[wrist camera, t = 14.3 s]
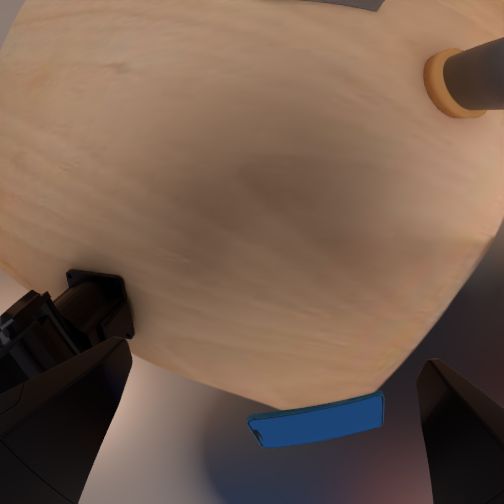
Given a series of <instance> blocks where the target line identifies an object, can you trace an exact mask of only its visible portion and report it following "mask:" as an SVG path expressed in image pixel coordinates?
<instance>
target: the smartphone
mask: <svg viewBox="0 0 504 504" xmlns="http://www.w3.org/2000/svg"><path fill="white" fill-rule="evenodd" d="M383 422H384V395H383V392H382V391H379V390H376V391H375V392H374V393H371V394H367V395H363V396H359V397H355V398H351V399H347V400H342V401H337V402H333V403H328V404H322V405H317V406H311V407H305V408H299V409H292V410H285V411H277V412H270V413H263V414H254V415H250V416H249V417H248V418H247V425H248V427H249V428H250V430H251V432H252V433H253V435H254V436H255V438H256V439H257V441H258V443H259V444H260V446H262V447H264V448H278V447H287V446H294V445H301V444H308V443H313V442H319V441H324V440H330V439H334V438H339V437H344V436H348V435H353V434H357V433H360V432H364V431H368V430H372V429H375V428H378V427H380V426H381V425H382V424H383Z"/></svg>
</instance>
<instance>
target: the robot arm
mask: <svg viewBox="0 0 504 504" xmlns="http://www.w3.org/2000/svg"><path fill="white" fill-rule="evenodd" d="M66 277H67V281H68V285H69V288H68V289H67V290H66V291H65V292H64V293H62V294H61V295H60V296H59V297H58V298H57V299H55V300H54V301H52V300H51V298H50V297H51V296H50V295H49V293H48V291H46V292H45V293H43V294H41V295H40V293H37V292H35V291H34V290H31V291H29V292H28V293H27V294H26V295H24V296H23V297H22V298H21V299H19V300H18V301H17V302H16V303H14V304H13V305H12V306H11V307H10V308H9V309H8V310H6V312H4V313H3V314H2V315H1V316H0V504H78V502H79V499H80V497H81V494H82V491H83V489H84V486H85V484H86V481H87V478H88V476H89V473H90V471H91V468H92V466H93V463H94V461H95V459H96V456H97V454H98V451H99V449H100V446H101V444H102V442H103V439H104V437H105V435H106V433H107V430H108V428H109V426H110V423H111V421H112V419H113V417H114V414H115V412H116V410H117V408H118V405H119V403H120V400H121V396H122V393H123V390H124V387H125V384H126V382H127V378H128V376H129V373H130V370H131V367H132V356H131V352H130V349H129V345H128V342H127V340H126V339H132V338H133V337H134V330H133V326H132V325H133V323H132V319H131V314H130V310H129V305H128V302H127V298H126V293H125V288H124V283H123V280H122V278H121V277H119V276H115V275H107V274H99V273H92V272H85V271H77V270H69V271H67V272H66ZM116 281H117V282H118V283H119V284H118V283H117V282H116ZM128 333H129V334H128ZM124 338H126V339H124ZM416 388H417V395H418V402H419V411H420V419H421V427H422V432H423V437H424V442H425V447H426V453H427V458H428V464H429V471H430V478H431V485H432V494H433V503H434V504H504V408H503V407H502V406H500V405H499V404H498V403H496V402H495V401H494V400H493V399H491V398H490V397H489V396H488V395H486V394H485V393H484V392H482V391H481V390H480V389H478V388H477V387H476V386H474V385H473V384H472V383H471V382H469V381H468V380H467V379H465V378H464V377H463V376H461V375H460V374H459V373H457V372H456V371H455V370H454V369H452V368H451V367H450V366H448V365H447V364H445V363H444V362H443V361H441V360H440V359H438V358H436V359H428V360H427V361H425V363H424V365H423V367H422V369H421V371H420V373H419V375H418V377H417V380H416Z"/></svg>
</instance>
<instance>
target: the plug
mask: <svg viewBox="0 0 504 504" xmlns="http://www.w3.org/2000/svg"><path fill="white" fill-rule="evenodd" d="M424 82H425V87H426V90H427V92H428V94H429V96H430V98H431V100H432V101H433V103H434V104H435V105H436V106H437V107H438V108H439V109H440V110H441V111H442V112H443V113H445V114H446V115H448V116H450V117H454V118H477V117H480V116H482V115H483V114H484V113H485V112H486V111H487V110H502V109H504V37H503V38H500V39H497V40H494V41H491V42H488V43H485V44H482V45H479V46H476V47H474V48H471V49H468V50H466V51H462V50H460V49H448V50H445V51H443V52H441V53H439V54H437V55H435V56H433V57H431V58H430V59H429V60H428V61H427V63H426V65H425V68H424Z"/></svg>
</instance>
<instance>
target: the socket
mask: <svg viewBox="0 0 504 504" xmlns="http://www.w3.org/2000/svg"><path fill="white" fill-rule="evenodd" d="M307 1H317V2H326V3H333V4H340V5H346V6H352V7H357V8H363V9H367V10H372V11H377V10H378V8H379V7H380V6H381V5H382V3H383V2H384V1H385V0H307Z"/></svg>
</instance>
